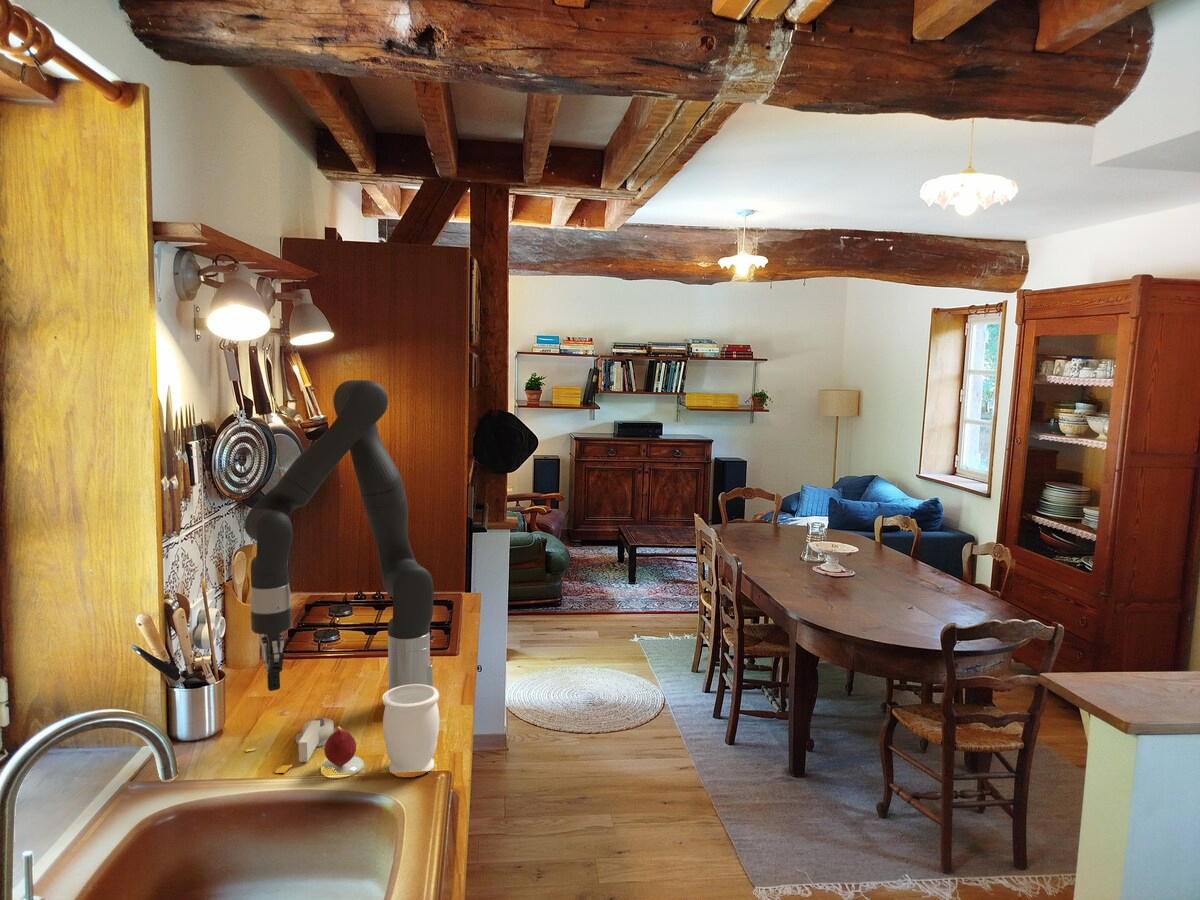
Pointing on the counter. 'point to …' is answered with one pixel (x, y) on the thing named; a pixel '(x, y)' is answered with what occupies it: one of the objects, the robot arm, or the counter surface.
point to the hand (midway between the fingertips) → (273, 688)
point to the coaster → (346, 766)
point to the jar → (411, 727)
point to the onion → (340, 747)
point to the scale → (299, 736)
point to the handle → (314, 736)
